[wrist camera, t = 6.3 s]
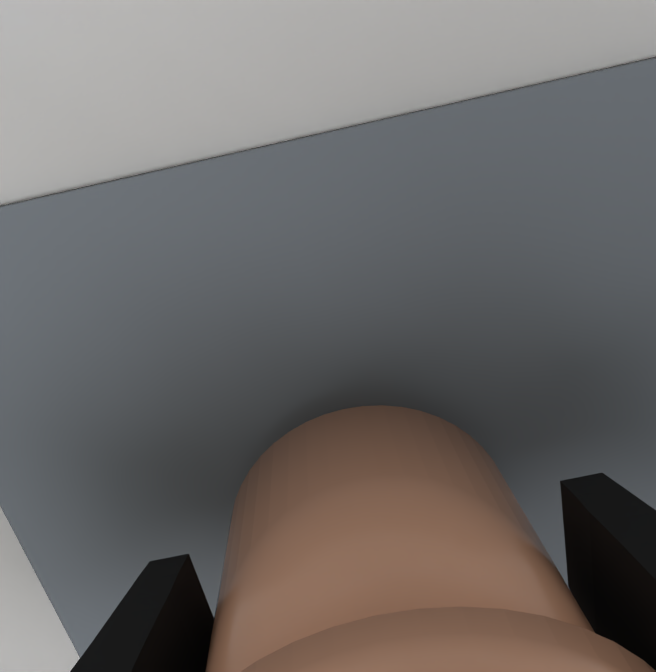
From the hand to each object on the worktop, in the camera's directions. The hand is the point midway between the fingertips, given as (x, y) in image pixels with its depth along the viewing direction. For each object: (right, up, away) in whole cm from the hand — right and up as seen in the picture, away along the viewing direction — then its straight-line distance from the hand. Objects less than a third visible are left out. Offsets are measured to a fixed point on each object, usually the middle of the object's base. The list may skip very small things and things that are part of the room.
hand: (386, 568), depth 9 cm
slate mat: (0, +1, +3) cm, 3 cm away
